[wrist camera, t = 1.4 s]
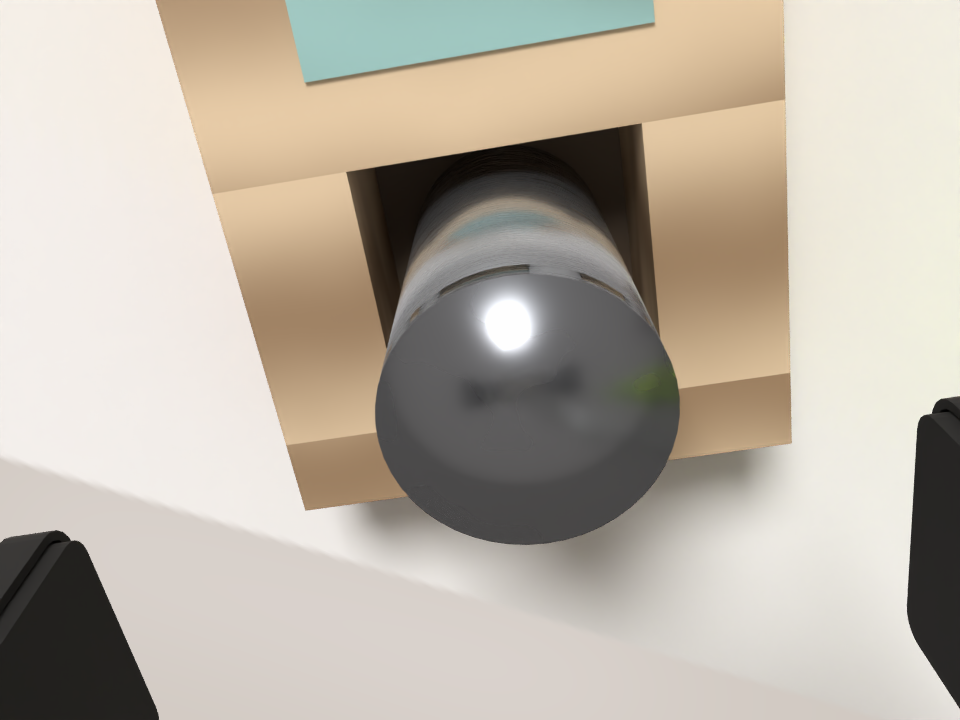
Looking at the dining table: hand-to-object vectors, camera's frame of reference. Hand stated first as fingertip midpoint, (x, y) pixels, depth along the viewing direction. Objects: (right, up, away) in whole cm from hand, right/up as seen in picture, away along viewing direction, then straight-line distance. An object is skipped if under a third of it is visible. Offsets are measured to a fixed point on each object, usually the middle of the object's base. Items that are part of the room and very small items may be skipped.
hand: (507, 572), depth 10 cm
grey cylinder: (0, +6, +13) cm, 14 cm away
